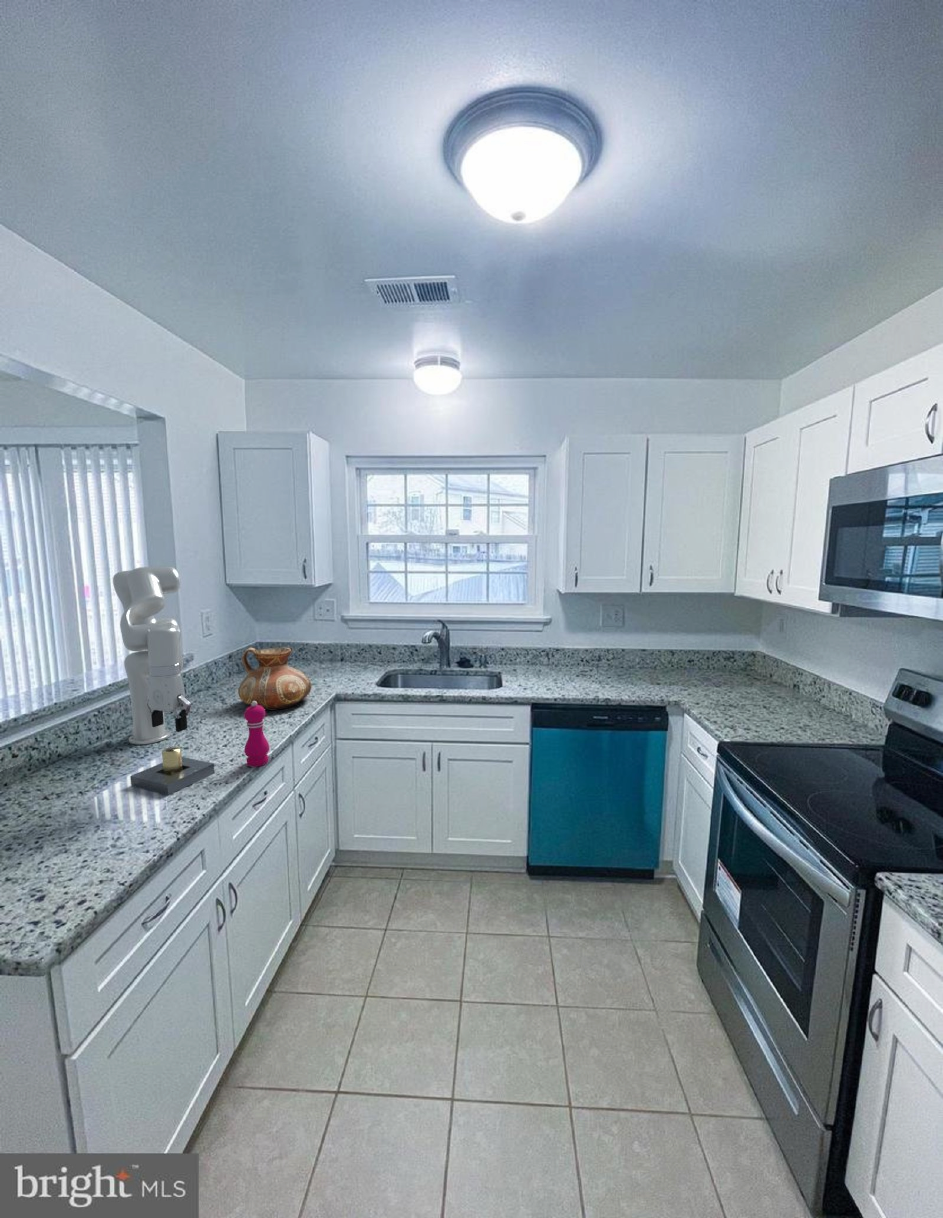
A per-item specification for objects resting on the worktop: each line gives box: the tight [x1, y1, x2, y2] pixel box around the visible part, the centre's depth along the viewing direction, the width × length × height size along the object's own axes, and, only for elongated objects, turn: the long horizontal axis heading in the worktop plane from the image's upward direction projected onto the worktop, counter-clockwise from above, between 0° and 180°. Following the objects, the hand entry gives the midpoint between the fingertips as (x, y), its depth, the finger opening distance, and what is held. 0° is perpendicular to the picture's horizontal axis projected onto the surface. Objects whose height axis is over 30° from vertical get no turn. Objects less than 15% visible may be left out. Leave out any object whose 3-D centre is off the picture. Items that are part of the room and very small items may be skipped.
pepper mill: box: [243, 701, 270, 768], centre depth 159 cm, size 7×7×20 cm
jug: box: [237, 647, 312, 711], centre depth 221 cm, size 30×30×25 cm
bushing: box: [161, 746, 183, 776], centre depth 149 cm, size 5×5×9 cm
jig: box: [130, 756, 215, 796], centre depth 149 cm, size 15×15×3 cm
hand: (169, 727), depth 147 cm, fingers open, 9 cm apart
